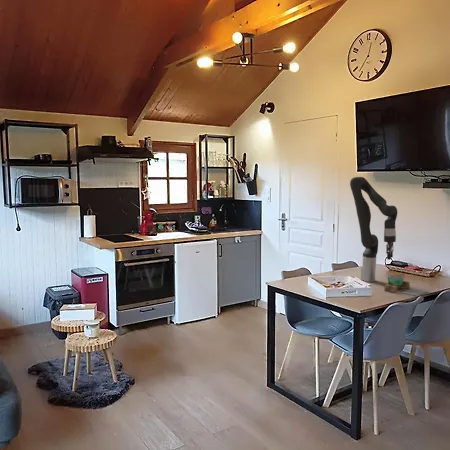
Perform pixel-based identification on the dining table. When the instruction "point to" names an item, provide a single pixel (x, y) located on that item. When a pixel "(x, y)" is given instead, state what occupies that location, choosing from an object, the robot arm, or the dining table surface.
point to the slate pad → (414, 292)
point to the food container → (396, 280)
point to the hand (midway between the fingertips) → (389, 258)
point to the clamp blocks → (394, 288)
